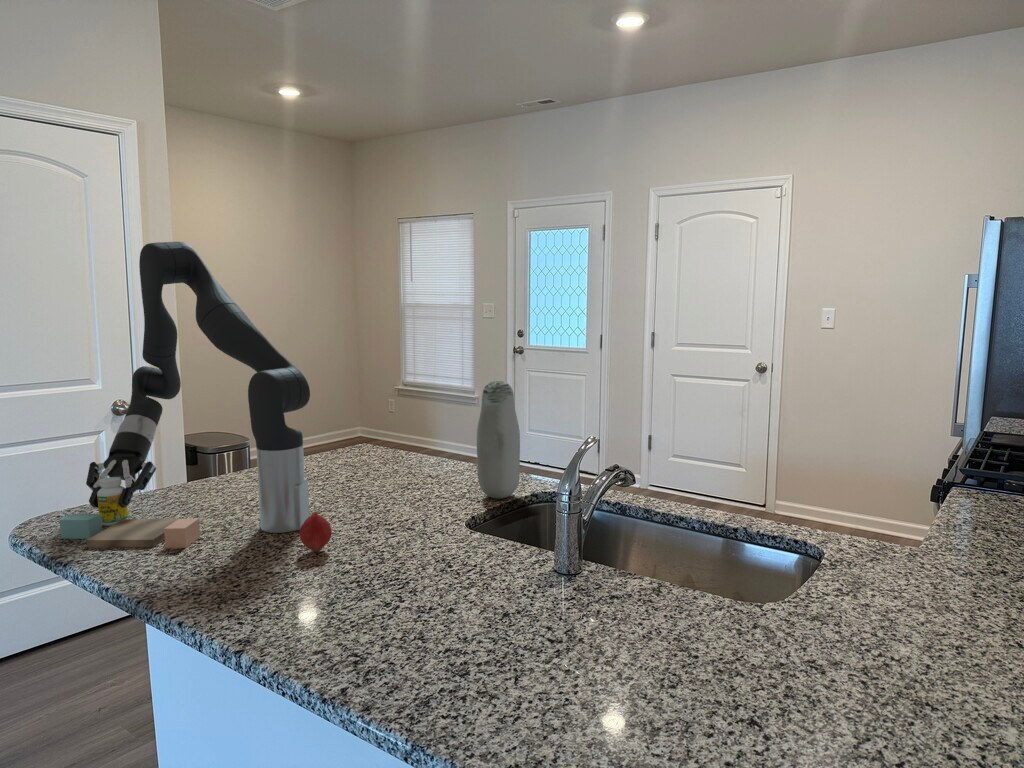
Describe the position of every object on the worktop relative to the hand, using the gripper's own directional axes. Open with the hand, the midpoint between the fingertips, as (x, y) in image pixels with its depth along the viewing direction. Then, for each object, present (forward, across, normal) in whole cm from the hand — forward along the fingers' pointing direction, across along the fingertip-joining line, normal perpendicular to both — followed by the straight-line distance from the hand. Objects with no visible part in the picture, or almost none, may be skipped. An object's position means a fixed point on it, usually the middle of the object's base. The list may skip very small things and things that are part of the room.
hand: (107, 505), depth 146 cm
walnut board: (+8, +10, -2) cm, 13 cm away
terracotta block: (+11, +21, -5) cm, 24 cm away
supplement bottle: (+2, 0, +4) cm, 5 cm away
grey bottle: (-9, +83, +16) cm, 85 cm away
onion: (+15, +49, -9) cm, 52 cm away
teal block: (+7, -2, -1) cm, 8 cm away
